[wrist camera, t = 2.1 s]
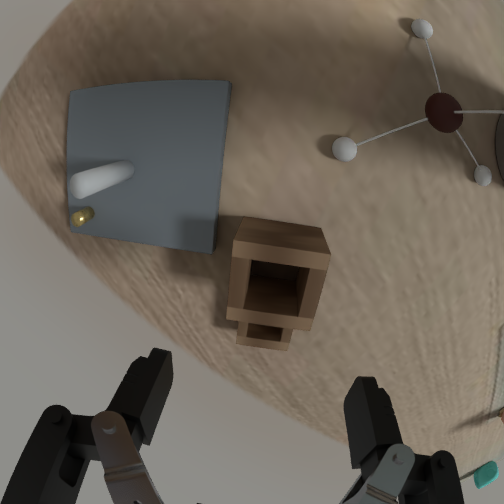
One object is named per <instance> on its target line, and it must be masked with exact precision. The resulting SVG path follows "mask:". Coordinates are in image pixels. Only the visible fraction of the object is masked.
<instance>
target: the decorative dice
mask: <svg viewBox="0 0 504 504" xmlns="http://www.w3.org/2000/svg"><path fill="white" fill-rule="evenodd" d="M498 475H499V473H498V467H497V464H496V463H495V462H494V461H491V462H489V463H487V464H485V465H483V466H482V467H480V468H479V469H477V470H476V471H475V472H474V481H475V485H476V487H477V488H478V489H480V488H482V487H484V486H486V485H488V484H489V483H491V482H493V481H494V480H495V479H496V478H498Z"/></svg>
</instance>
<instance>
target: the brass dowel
mask: <svg viewBox="0 0 504 504" xmlns="http://www.w3.org/2000/svg"><path fill="white" fill-rule="evenodd" d="M94 216H95V212H94V210H93V208H92V207H90V206H88V207H85V208H83V209H81V210H79V211H77V212H76V213H74V214H72V216H71V222H72V224H73V225H74V226H75V227H79V226H81V225H83V224H85V223H86V222H88V221H90V220H91V219H93V218H94Z"/></svg>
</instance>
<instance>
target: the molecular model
mask: <svg viewBox="0 0 504 504" xmlns="http://www.w3.org/2000/svg"><path fill="white" fill-rule="evenodd" d="M411 28H412V31H413V33H414V34H415V35H416V36H418V37H419V38H422V39H425V42H426V45H427V48H428V52H429V55H430V58H431V62H432V66H433V69H434V73H435V77H436V81H437V85H438V90H439V93H436V94H433V95H432V96H430V97H429V99H428V100H427V102H426V105H425V113H426V117H427V118H424V119H421V120H419V121H416V122H413V123H410V124H407V125H404V126H402V127H399V128H396V129H393V130H391V131H388V132H385V133H383V134H380V135H377V136H375V137H372V138H370V139H367V140H365V141H362V142H359V143H357V144H355V142H354V141H353V140H352V139H350V138H348V137H340V138H338V139H336V140H335V141H334V143H333V145H332V152H333V154H334V156H335V157H336V158H337V159H338V160H340V161H343V162H347V161H350V160H352V159H353V158H354V157H355V156H356V153H357V146H358V145H361V144H363V143H366V142H368V141H371V140H374V139H376V138H379V137H382V136H384V135H387V134H390V133H392V132H395V131H398V130H401V129H403V128H406V127H409V126H412V125H415V124H417V123H420V122H423V121H426V120H428V121H429V123H430V124H431V125H432V126H433V127H434V128H435V129H437V130H438V131H440V132H444V133H451V132H454V131H456V132H457V134H458V135H459V137H460V138H461V140H462V141H463V143H464V145H465V146H466V148H467V149H468V151H469V153H470V154H471V156H472V158H473V159H474V161H475V163H476V164H477V166H478V167H476V169H475V171H474V178H475V180H476V182H477V183H478V184H479V185H481V186H487V185H488V184H490V182H491V180H492V174H491V171H490V169H489V168H488V167H487V166H484V165H478V163H477V161H476V159H475V158H474V156H473V154H472V152H471V151H470V149H469V147H468V146H467V144H466V143H465V141H464V140H463V138H462V136H461V135H460V133H459V132H458V130H457V129H458V128H459V127H460V126H461V124H462V121H463V113H503V114H504V110H466V111H462V108H461V106H460V104H459V103H458V101H457V100H456V99H455V98H454V97H452V96H451V95H449V94H446V93H441V89H440V85H439V81H438V77H437V73H436V69H435V65H434V62H433V58H432V55H431V52H430V48H429V45H428V42H427V39H428V38H430V37H431V36H432V34H433V29H432V27H431V25H430V24H429V23H428V22H427V21H425V20H423V19H416V20H414V21H413V22H412V25H411Z"/></svg>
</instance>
